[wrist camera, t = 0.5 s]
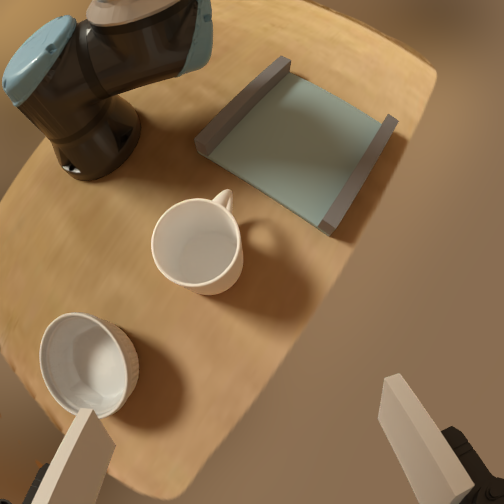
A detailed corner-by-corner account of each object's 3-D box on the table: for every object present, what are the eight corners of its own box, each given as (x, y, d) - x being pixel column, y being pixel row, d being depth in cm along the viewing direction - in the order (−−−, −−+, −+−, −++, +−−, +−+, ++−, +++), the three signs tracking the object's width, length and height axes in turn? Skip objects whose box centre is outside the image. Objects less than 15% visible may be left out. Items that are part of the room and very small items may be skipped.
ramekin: (165, 351, 36) (147, 357, 29) (123, 424, 33) (101, 441, 26) (90, 295, 37) (63, 290, 30) (55, 368, 35) (27, 373, 28)
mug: (264, 221, 39) (269, 187, 29) (227, 306, 37) (217, 302, 26) (205, 198, 40) (191, 158, 30) (166, 278, 38) (136, 263, 27)
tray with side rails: (328, 236, 39) (335, 228, 35) (197, 152, 42) (193, 139, 38) (390, 133, 43) (398, 120, 39) (279, 69, 45) (280, 55, 42)
